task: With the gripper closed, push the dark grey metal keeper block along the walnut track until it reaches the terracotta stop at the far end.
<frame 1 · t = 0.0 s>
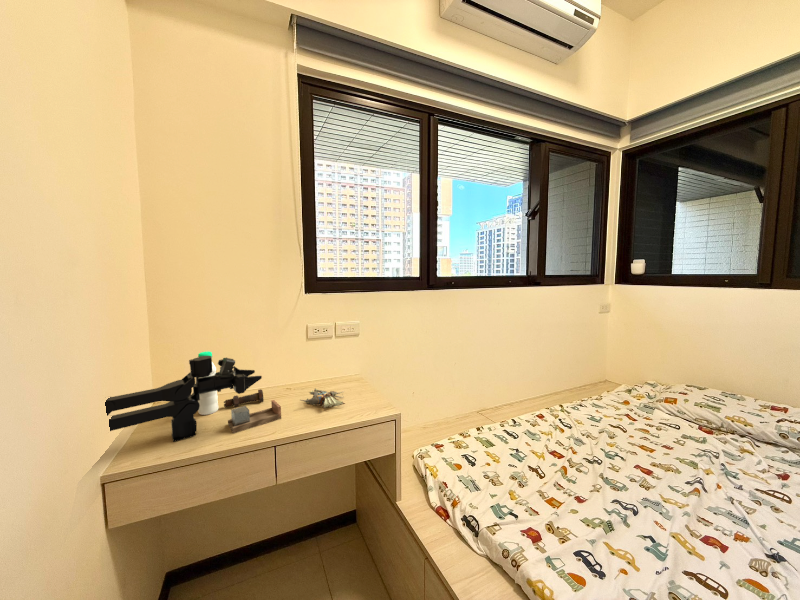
hand: (257, 374, 123), 17 cm above the table, tool horizontal, fingers open, 9 cm apart
water bottle: (208, 412, 126), on the table
bolt: (244, 405, 133), on the table
keeper: (240, 416, 114), point 4 cm above the table, slide at 0.0 cm
track: (255, 421, 117), on the table
figurine: (326, 405, 133), on the table
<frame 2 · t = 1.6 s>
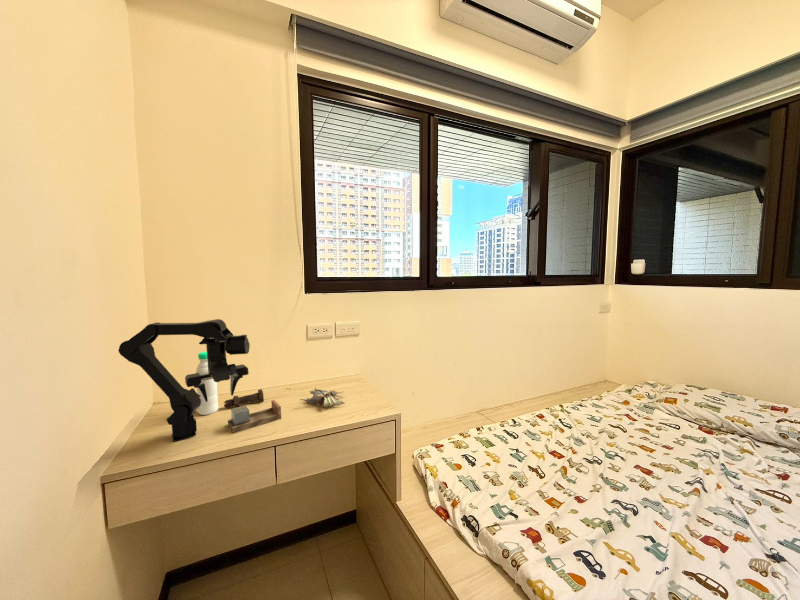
hand: (219, 398, 109), 13 cm above the table, tool pointing down, fingers open, 8 cm apart
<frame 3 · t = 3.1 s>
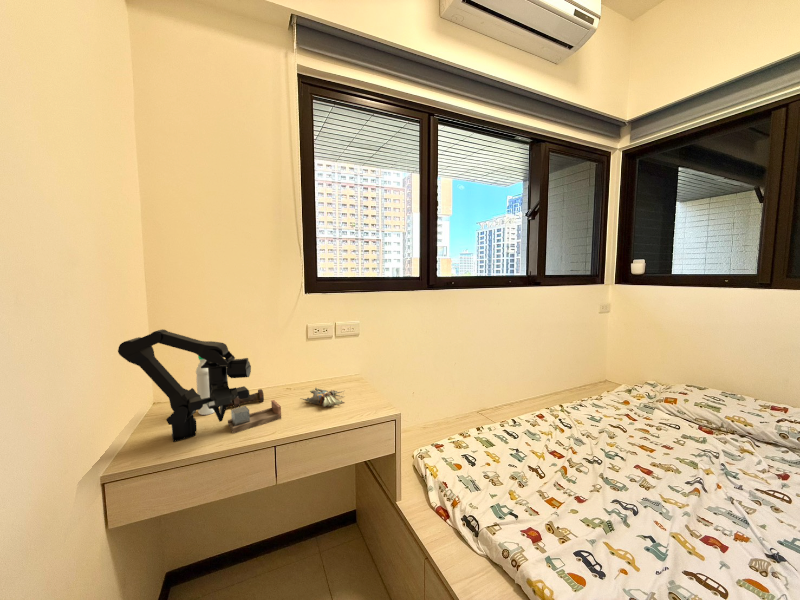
hand: (220, 421, 109), 4 cm above the table, tool pointing down, fingers closed
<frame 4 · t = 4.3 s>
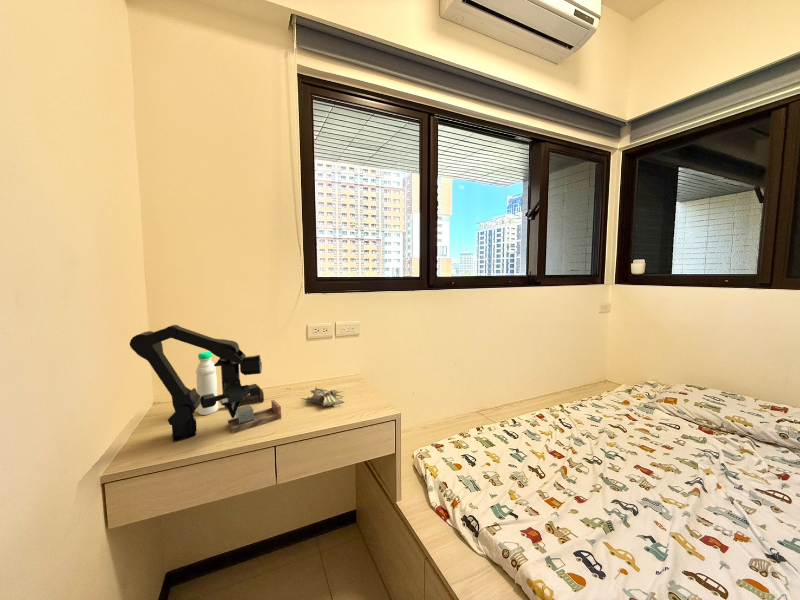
hand: (232, 417, 112), 4 cm above the table, tool pointing down, fingers closed
keeper: (244, 415, 115), point 4 cm above the table, slide at 1.4 cm, touching gripper
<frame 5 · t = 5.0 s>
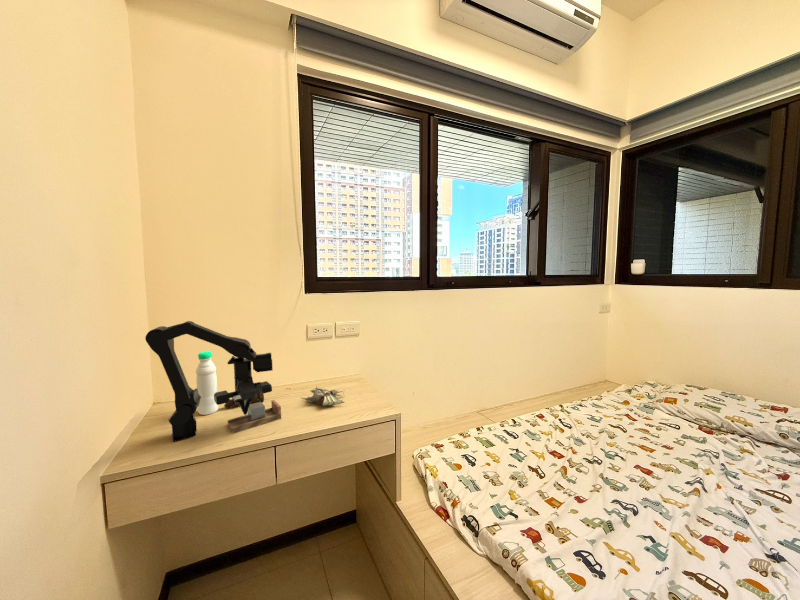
hand: (245, 414, 115), 4 cm above the table, tool pointing down, fingers closed
keeper: (256, 411, 117), point 4 cm above the table, slide at 5.5 cm, touching gripper
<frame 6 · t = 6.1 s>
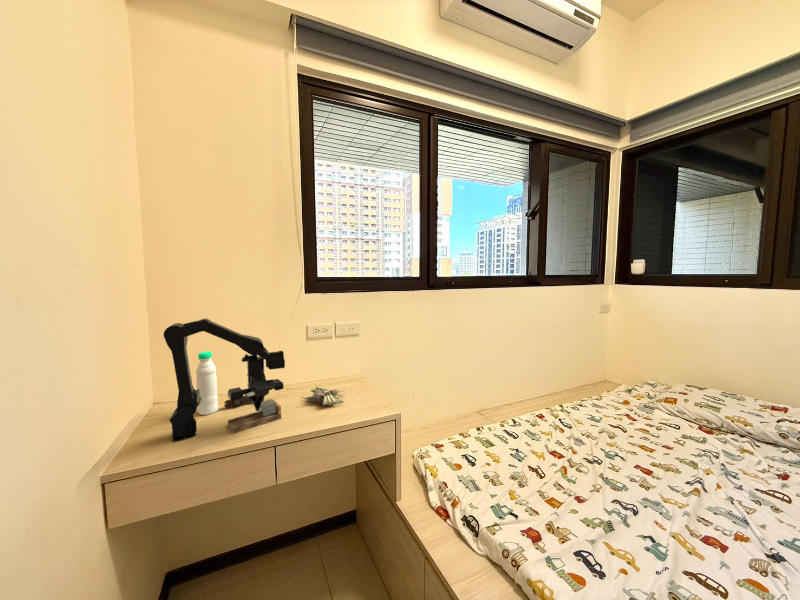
hand: (257, 410, 117), 4 cm above the table, tool pointing down, fingers closed
keeper: (267, 408, 120), point 4 cm above the table, slide at 9.8 cm, touching gripper
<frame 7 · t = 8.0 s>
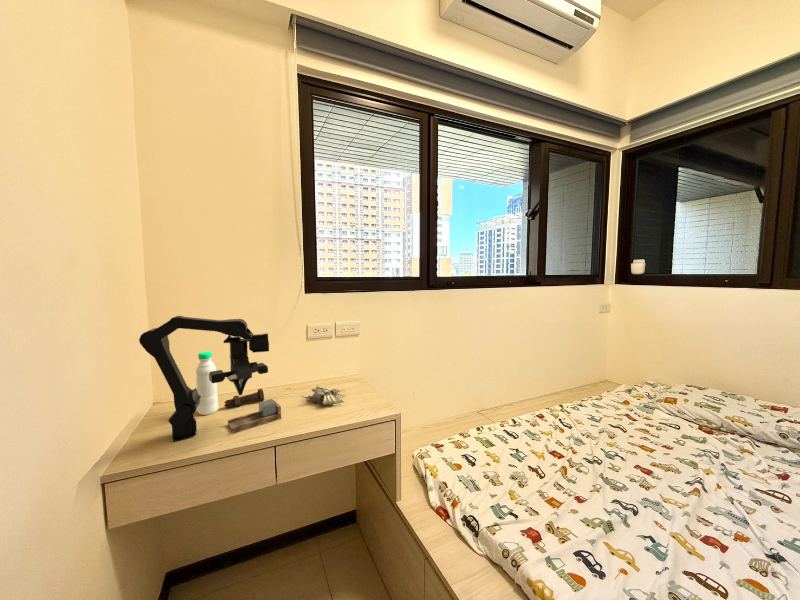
hand: (240, 394, 113), 12 cm above the table, tool pointing down, fingers closed
keeper: (267, 408, 120), point 4 cm above the table, slide at 9.7 cm
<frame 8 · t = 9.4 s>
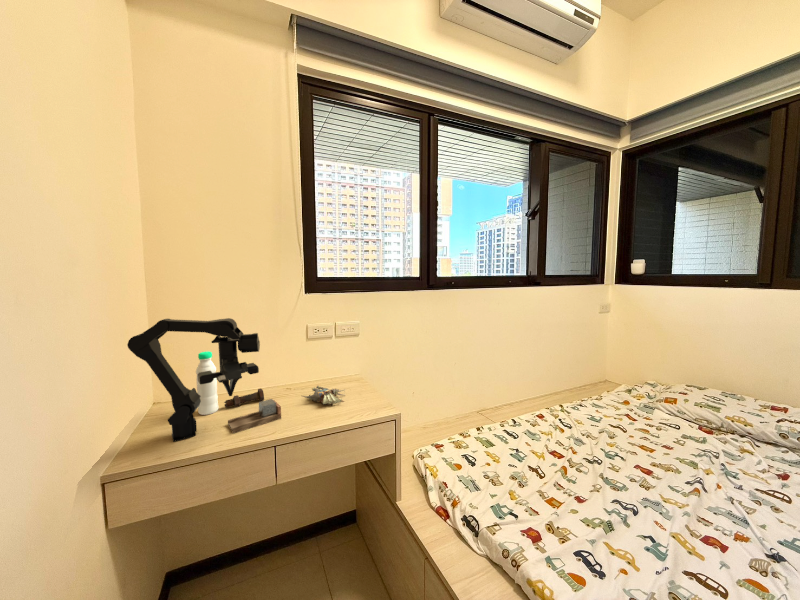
hand: (230, 395, 111), 13 cm above the table, tool pointing down, fingers closed
at the end: keeper slide at 9.7 cm; bolt moved 0.7 cm from its start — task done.
